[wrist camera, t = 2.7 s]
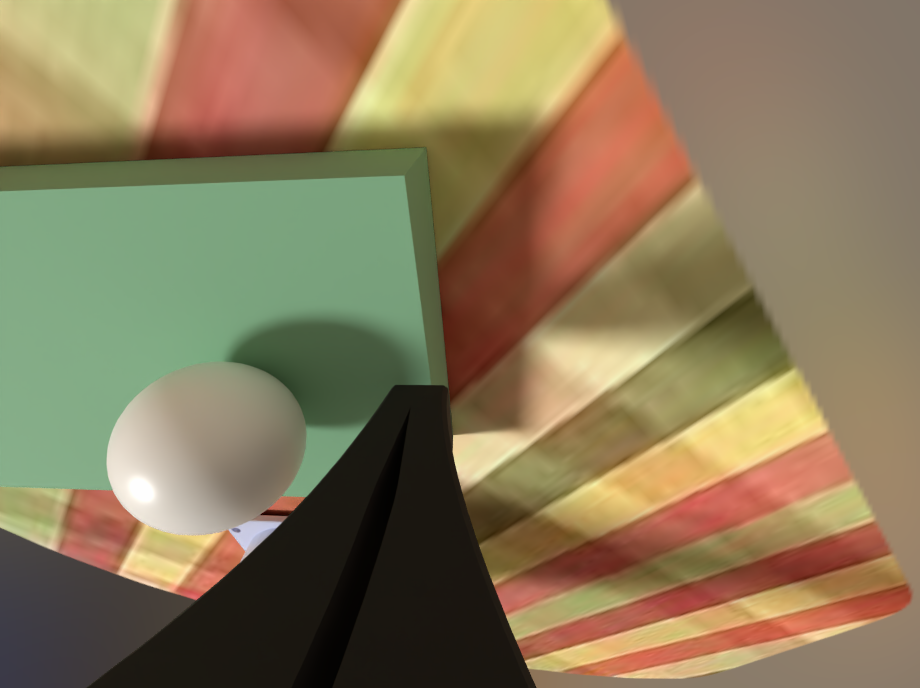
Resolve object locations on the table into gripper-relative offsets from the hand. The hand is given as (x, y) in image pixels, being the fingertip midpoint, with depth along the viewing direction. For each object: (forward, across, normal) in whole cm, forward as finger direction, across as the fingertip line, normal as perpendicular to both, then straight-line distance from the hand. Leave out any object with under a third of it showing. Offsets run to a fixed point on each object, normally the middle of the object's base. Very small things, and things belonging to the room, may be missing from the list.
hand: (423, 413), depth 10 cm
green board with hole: (+4, +13, +1) cm, 14 cm away
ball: (-1, +5, 0) cm, 5 cm away
